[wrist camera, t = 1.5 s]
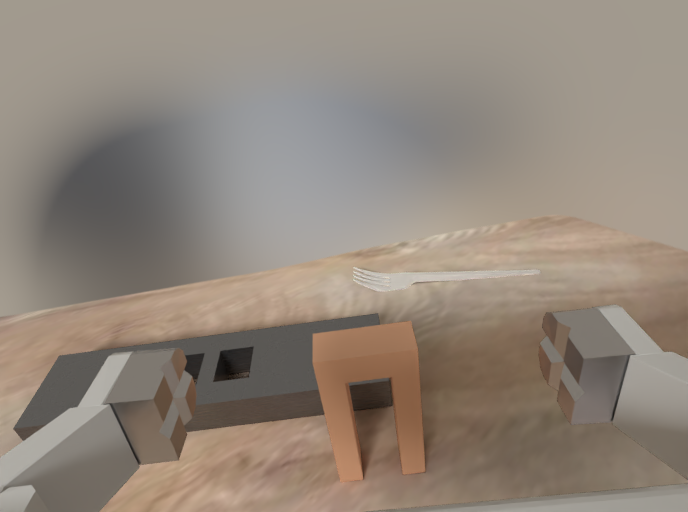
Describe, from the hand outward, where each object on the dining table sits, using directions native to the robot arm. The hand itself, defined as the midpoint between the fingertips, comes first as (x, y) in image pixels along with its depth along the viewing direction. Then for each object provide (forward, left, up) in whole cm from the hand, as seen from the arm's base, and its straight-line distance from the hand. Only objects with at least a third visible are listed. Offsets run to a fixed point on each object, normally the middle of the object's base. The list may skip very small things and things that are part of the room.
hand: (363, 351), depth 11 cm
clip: (-9, -8, -24) cm, 27 cm away
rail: (-7, -24, -24) cm, 35 cm away
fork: (-31, -14, -24) cm, 42 cm away
